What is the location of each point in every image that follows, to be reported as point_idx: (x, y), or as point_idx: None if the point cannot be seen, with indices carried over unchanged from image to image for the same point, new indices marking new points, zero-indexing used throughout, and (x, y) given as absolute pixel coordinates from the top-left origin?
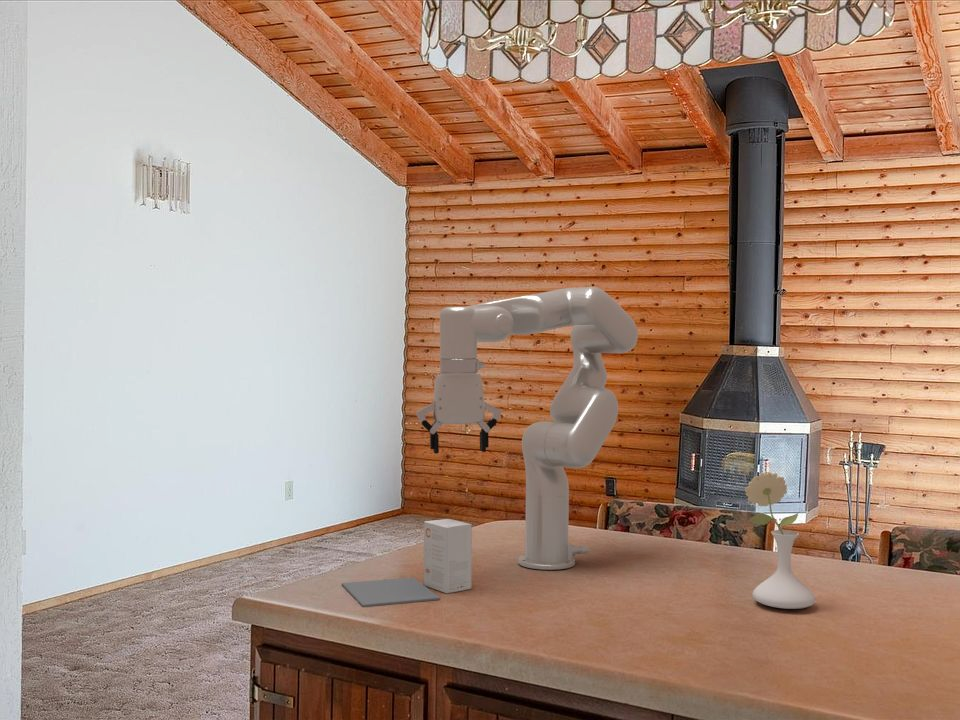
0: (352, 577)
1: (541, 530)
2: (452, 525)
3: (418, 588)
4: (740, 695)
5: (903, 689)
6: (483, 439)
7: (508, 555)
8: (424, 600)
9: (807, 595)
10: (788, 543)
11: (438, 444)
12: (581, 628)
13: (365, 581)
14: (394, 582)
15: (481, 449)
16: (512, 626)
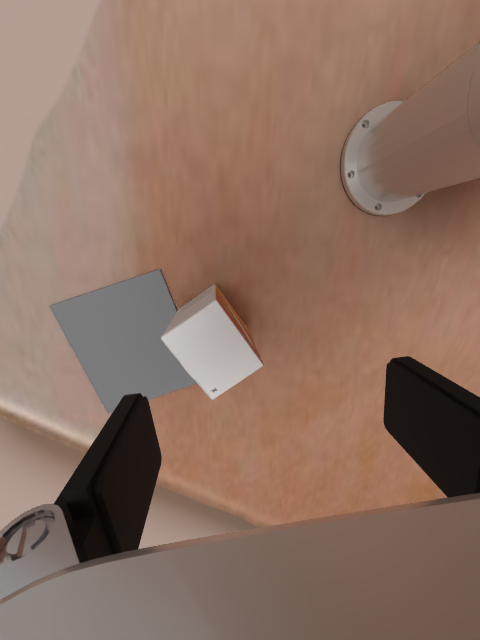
0: (55, 253)
1: (417, 185)
2: (223, 384)
3: None
4: None
5: None
6: (438, 482)
7: (336, 73)
8: (184, 386)
9: None
10: None
11: (149, 500)
12: (344, 469)
13: (85, 295)
14: (133, 302)
15: (389, 411)
16: (279, 467)
